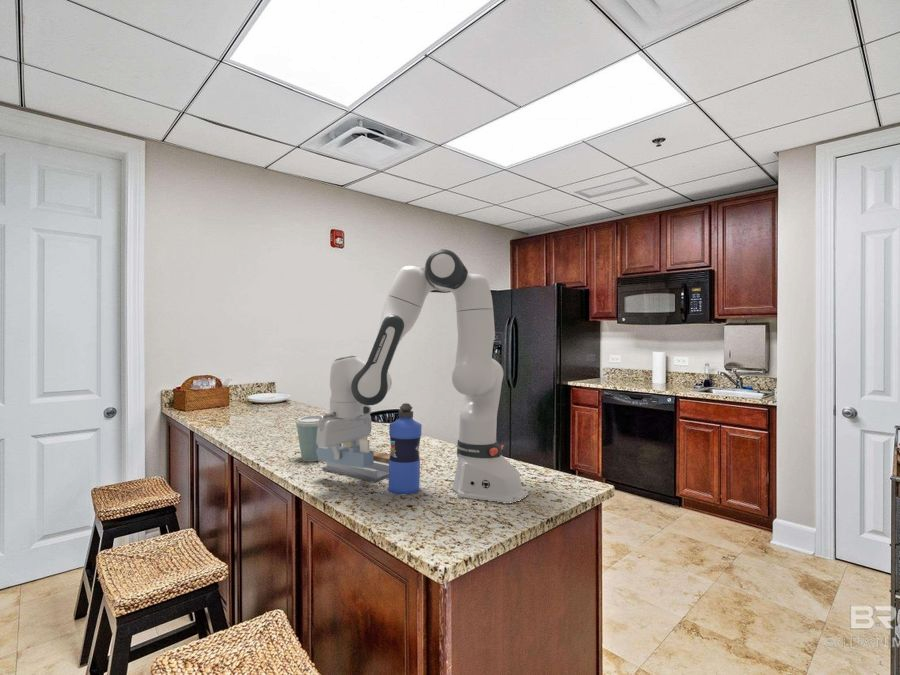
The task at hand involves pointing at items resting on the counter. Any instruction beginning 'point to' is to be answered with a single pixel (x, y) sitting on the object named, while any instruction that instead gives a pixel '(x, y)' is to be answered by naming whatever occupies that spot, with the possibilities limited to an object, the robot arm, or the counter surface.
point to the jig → (361, 471)
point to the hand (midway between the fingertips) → (345, 456)
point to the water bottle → (404, 453)
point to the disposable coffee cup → (308, 437)
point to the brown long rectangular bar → (381, 457)
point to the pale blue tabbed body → (349, 455)
